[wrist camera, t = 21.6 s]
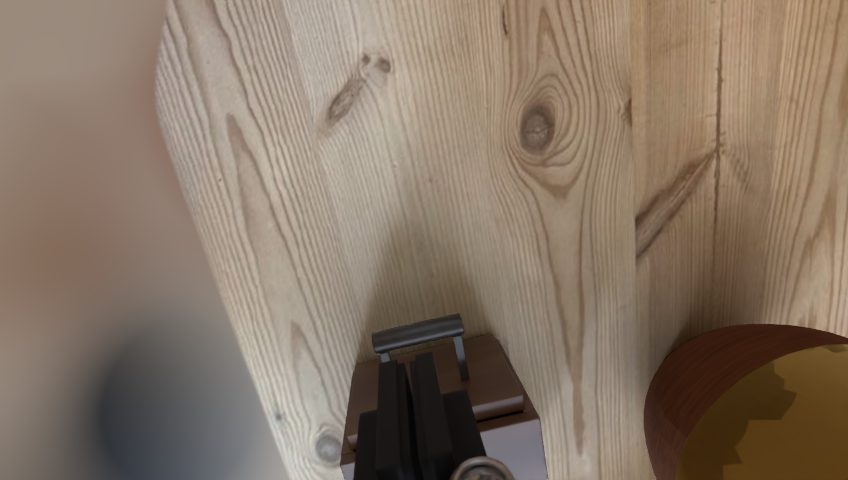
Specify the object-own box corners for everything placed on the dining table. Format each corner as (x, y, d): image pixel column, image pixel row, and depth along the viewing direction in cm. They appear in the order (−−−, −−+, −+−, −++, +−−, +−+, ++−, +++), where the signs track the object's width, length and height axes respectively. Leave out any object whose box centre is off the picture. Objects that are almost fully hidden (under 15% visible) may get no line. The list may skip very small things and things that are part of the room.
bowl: (636, 479, 39) (718, 593, 30) (566, 347, 34) (635, 432, 25) (799, 394, 38) (938, 483, 29) (750, 246, 33) (898, 293, 24)
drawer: (339, 310, 31) (324, 369, 23) (482, 278, 31) (513, 326, 23) (391, 491, 36) (393, 586, 28) (513, 461, 36) (546, 548, 29)
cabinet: (352, 372, 33) (339, 465, 24) (498, 338, 34) (540, 417, 24) (390, 502, 37) (392, 625, 28) (520, 471, 38) (563, 582, 28)
